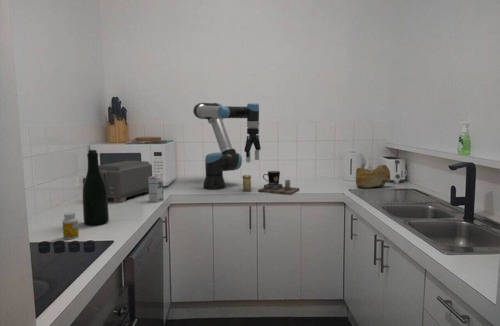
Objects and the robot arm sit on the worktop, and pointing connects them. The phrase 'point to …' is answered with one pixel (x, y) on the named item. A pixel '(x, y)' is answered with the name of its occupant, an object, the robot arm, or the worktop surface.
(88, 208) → the dark green wine bottle
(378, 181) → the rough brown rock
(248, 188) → the gold tall rounded piece
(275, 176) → the coffee mug
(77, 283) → the worktop surface
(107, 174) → the toaster
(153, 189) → the syrup box
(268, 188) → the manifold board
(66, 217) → the supplement bottle
